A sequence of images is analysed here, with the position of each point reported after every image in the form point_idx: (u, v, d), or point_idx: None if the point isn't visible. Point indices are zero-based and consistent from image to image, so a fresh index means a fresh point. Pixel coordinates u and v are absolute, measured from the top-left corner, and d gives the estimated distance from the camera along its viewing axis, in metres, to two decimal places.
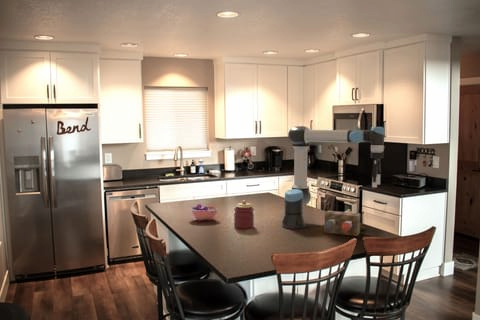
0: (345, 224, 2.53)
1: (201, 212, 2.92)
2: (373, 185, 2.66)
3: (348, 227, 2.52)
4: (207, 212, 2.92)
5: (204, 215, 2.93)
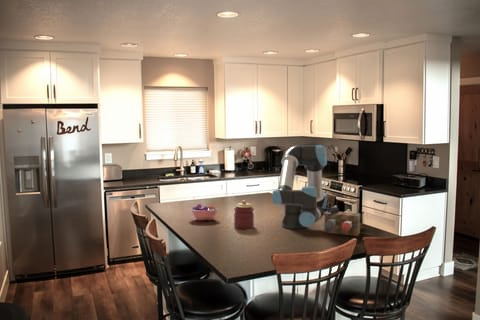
0: (345, 224, 2.53)
1: (201, 212, 2.92)
2: None
3: (348, 227, 2.52)
4: (207, 212, 2.92)
5: (204, 215, 2.93)
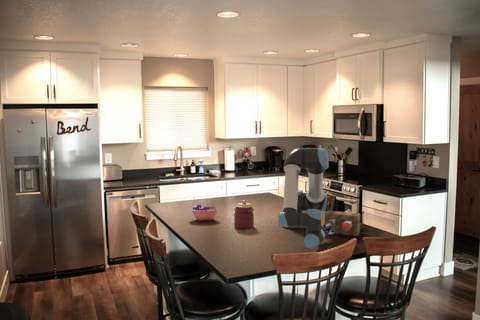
0: (345, 224, 2.53)
1: (201, 212, 2.92)
2: None
3: (348, 227, 2.52)
4: (207, 212, 2.92)
5: (204, 215, 2.93)
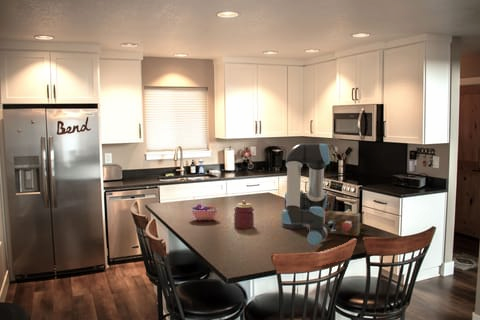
0: (345, 224, 2.53)
1: (201, 212, 2.92)
2: None
3: (348, 227, 2.52)
4: (207, 212, 2.92)
5: (204, 215, 2.93)
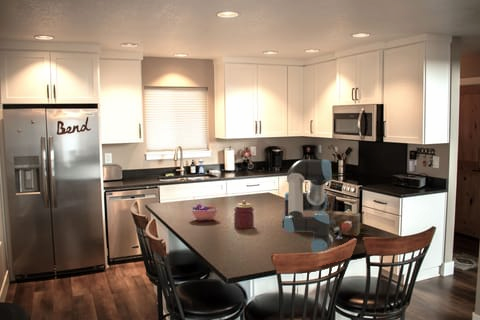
0: (345, 224, 2.53)
1: (201, 212, 2.92)
2: None
3: (348, 227, 2.52)
4: (207, 212, 2.92)
5: (204, 215, 2.93)
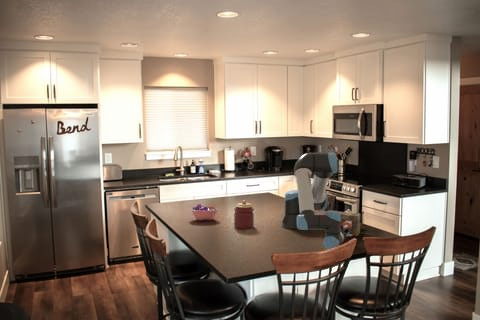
0: (345, 224, 2.54)
1: (201, 212, 2.92)
2: None
3: (348, 227, 2.53)
4: (207, 212, 2.92)
5: (204, 215, 2.93)
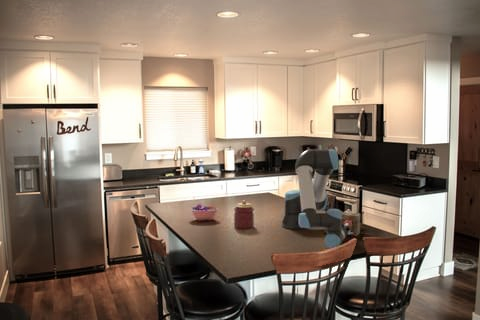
0: (347, 222, 2.57)
1: (201, 212, 2.92)
2: None
3: (350, 225, 2.57)
4: (207, 212, 2.92)
5: (204, 215, 2.93)
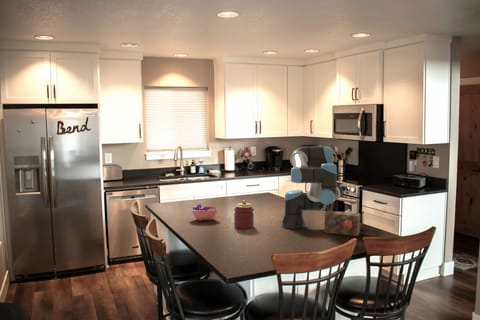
0: (347, 222, 2.57)
1: (201, 212, 2.92)
2: None
3: (350, 225, 2.57)
4: (207, 212, 2.92)
5: (204, 215, 2.93)
